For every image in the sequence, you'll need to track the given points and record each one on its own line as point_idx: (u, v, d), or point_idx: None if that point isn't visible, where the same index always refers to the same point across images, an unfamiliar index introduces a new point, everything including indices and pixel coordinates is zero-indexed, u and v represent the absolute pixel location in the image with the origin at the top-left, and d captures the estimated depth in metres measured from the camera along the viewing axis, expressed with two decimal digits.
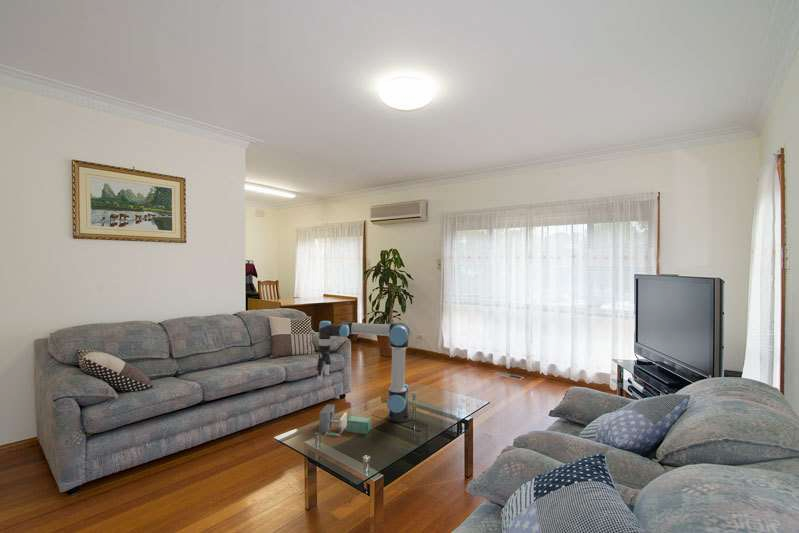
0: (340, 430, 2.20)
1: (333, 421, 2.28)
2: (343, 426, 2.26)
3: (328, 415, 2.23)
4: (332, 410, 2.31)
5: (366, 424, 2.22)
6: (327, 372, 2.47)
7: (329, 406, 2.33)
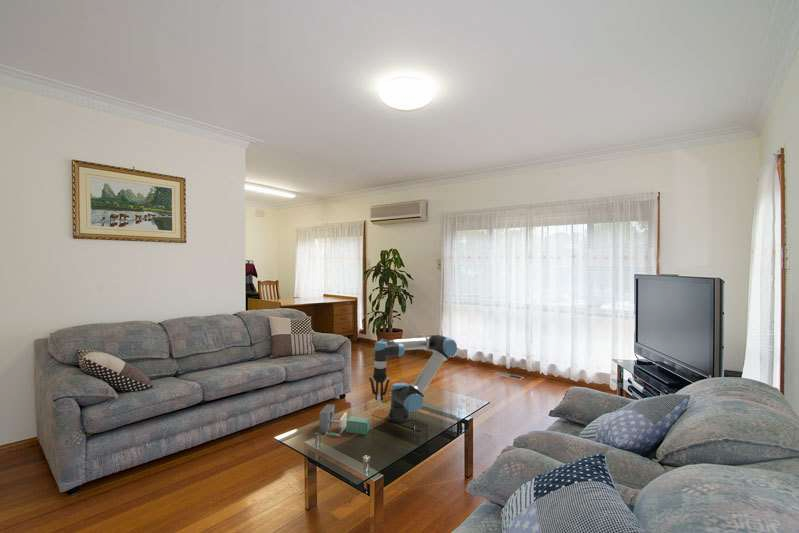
0: (340, 430, 2.20)
1: (333, 421, 2.28)
2: (343, 426, 2.26)
3: (328, 415, 2.23)
4: (332, 410, 2.31)
5: (365, 424, 2.21)
6: (379, 403, 2.24)
7: (329, 406, 2.33)
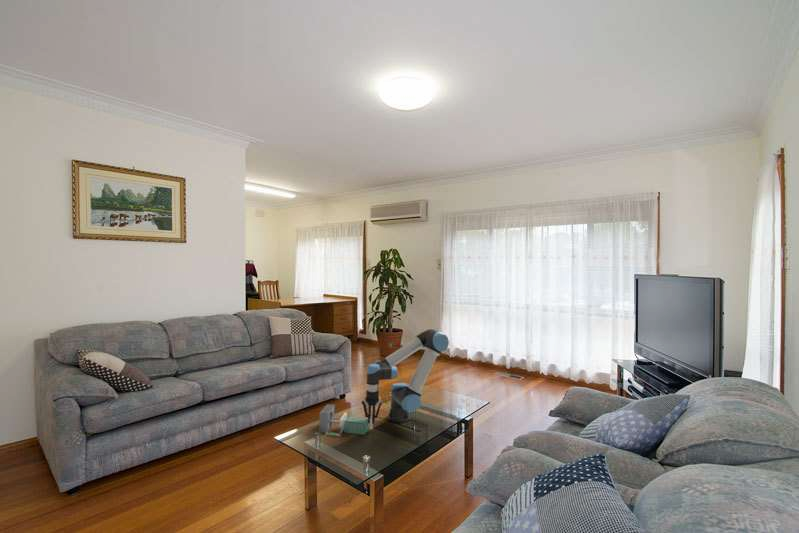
0: (340, 430, 2.20)
1: (333, 421, 2.28)
2: (343, 426, 2.26)
3: (328, 415, 2.23)
4: (332, 410, 2.31)
5: (364, 424, 2.21)
6: None
7: (329, 406, 2.33)
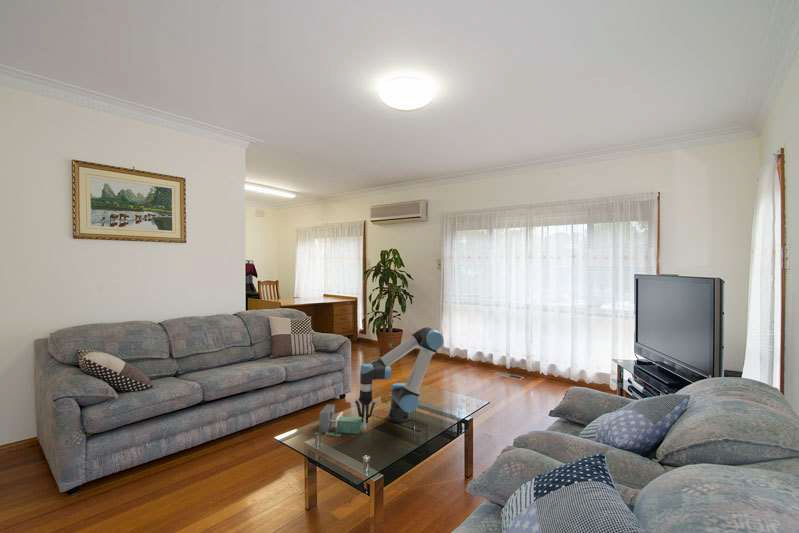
0: (336, 430, 2.20)
1: None
2: None
3: (328, 415, 2.23)
4: (332, 410, 2.31)
5: (358, 424, 2.21)
6: None
7: (329, 406, 2.33)
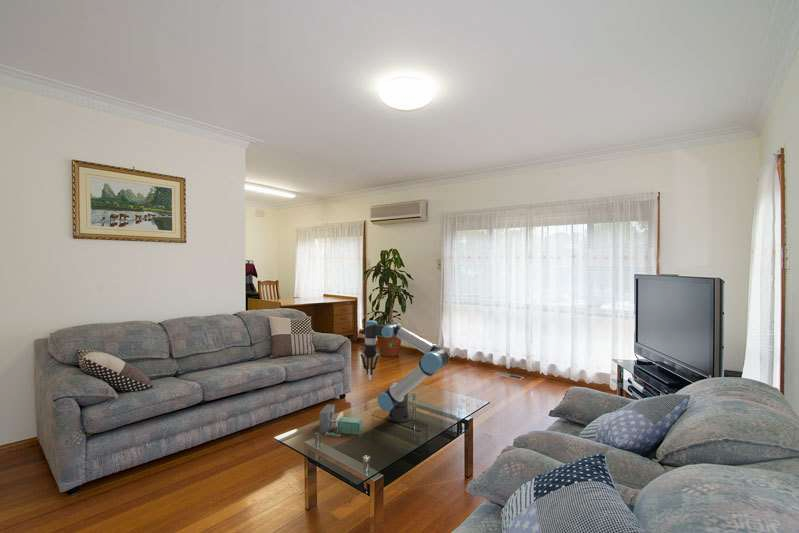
0: (336, 430, 2.20)
1: None
2: None
3: (328, 415, 2.23)
4: (332, 410, 2.31)
5: (358, 424, 2.21)
6: None
7: (329, 406, 2.33)
